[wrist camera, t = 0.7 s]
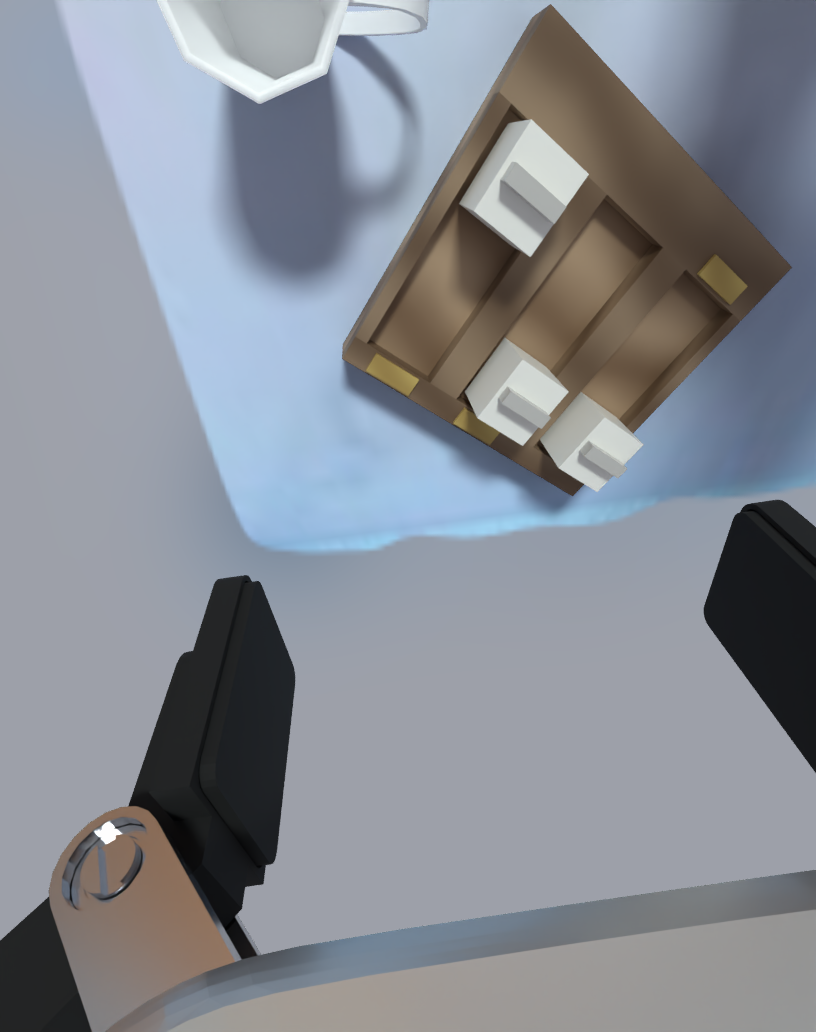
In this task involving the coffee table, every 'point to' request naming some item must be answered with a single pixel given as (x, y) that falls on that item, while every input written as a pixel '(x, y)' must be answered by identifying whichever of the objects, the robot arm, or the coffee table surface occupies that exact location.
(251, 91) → the cup
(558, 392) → the tab middle
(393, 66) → the coffee table surface
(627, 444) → the tab
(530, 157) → the tab
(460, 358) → the switch board
